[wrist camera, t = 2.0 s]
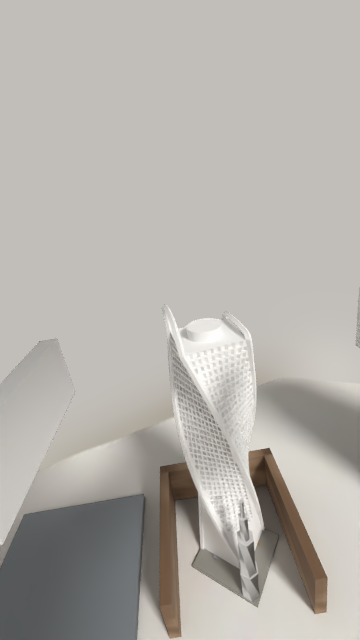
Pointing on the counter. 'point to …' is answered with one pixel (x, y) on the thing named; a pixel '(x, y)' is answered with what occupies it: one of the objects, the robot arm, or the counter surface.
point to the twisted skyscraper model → (220, 447)
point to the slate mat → (74, 573)
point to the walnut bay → (266, 472)
